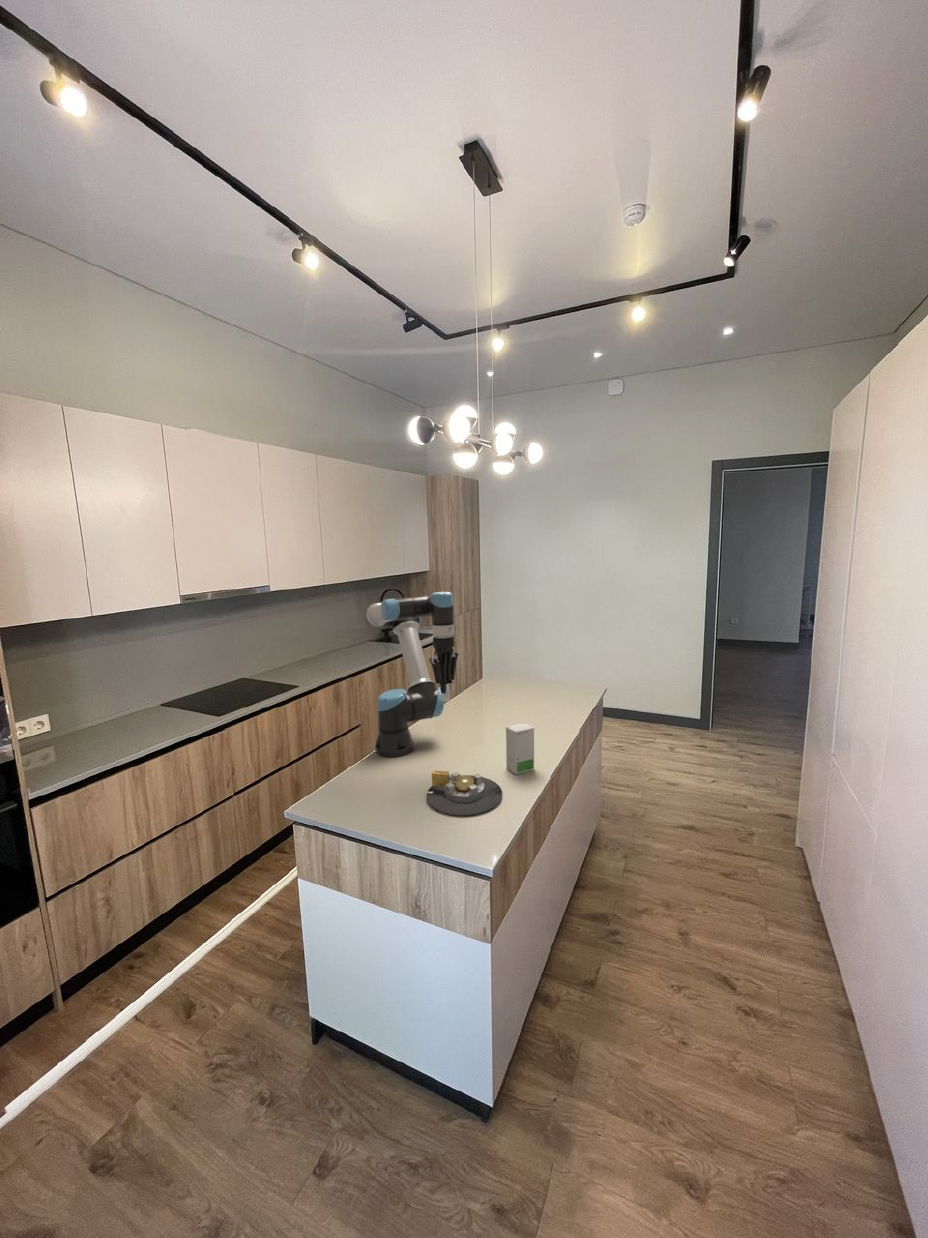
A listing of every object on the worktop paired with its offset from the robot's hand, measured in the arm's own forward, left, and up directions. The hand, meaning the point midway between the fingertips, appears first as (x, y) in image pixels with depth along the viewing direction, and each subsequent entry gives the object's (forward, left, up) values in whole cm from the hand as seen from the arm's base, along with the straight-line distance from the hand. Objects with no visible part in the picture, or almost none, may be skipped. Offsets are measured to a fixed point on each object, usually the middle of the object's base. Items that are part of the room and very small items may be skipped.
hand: (446, 701), depth 172 cm
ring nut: (+9, -20, -23) cm, 32 cm away
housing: (+11, -20, -24) cm, 33 cm away
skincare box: (+26, +2, -25) cm, 36 cm away
